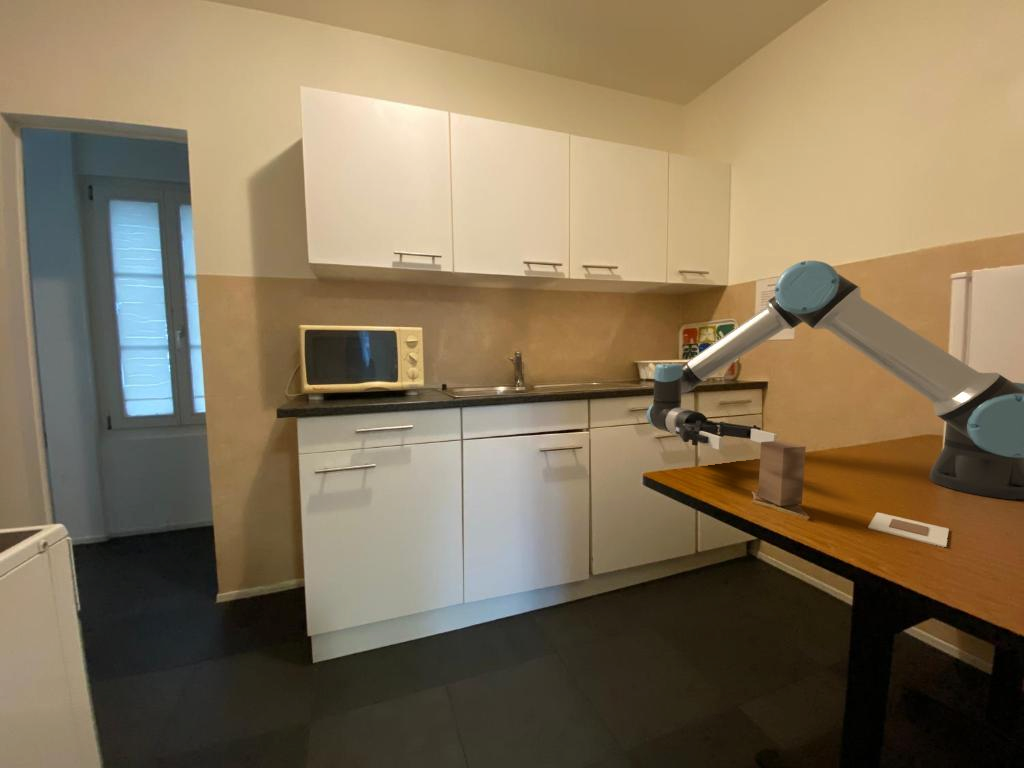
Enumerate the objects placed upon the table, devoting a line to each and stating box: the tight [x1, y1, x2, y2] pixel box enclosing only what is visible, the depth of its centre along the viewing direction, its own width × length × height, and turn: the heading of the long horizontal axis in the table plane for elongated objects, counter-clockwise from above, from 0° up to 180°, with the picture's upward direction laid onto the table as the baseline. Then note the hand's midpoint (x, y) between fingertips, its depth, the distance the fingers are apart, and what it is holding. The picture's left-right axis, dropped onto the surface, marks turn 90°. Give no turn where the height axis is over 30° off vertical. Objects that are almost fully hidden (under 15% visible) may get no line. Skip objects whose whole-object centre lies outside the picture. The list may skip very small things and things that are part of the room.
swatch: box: [867, 511, 950, 548], centre depth 68 cm, size 9×9×1 cm
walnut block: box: [757, 440, 807, 506], centre depth 77 cm, size 5×5×11 cm
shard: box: [751, 490, 811, 521], centre depth 77 cm, size 11×8×2 cm
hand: (748, 442), depth 86 cm, fingers open, 13 cm apart
